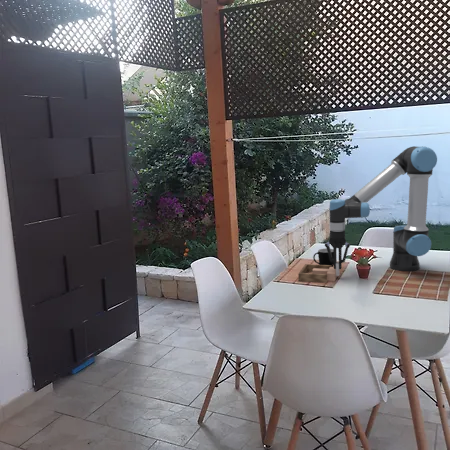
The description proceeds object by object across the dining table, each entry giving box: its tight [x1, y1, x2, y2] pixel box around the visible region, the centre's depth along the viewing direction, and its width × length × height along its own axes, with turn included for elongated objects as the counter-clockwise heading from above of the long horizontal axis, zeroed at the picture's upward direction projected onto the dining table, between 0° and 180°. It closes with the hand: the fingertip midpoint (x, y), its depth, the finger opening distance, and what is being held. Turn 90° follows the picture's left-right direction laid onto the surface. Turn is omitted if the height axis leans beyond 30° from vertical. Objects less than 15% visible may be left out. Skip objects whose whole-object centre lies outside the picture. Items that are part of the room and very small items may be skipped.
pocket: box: [297, 263, 332, 284], centre depth 244 cm, size 14×18×4 cm
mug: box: [312, 247, 334, 267], centre depth 259 cm, size 12×9×10 cm
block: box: [311, 266, 338, 282], centre depth 242 cm, size 12×12×4 cm
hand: (337, 275), depth 240 cm, fingers closed
